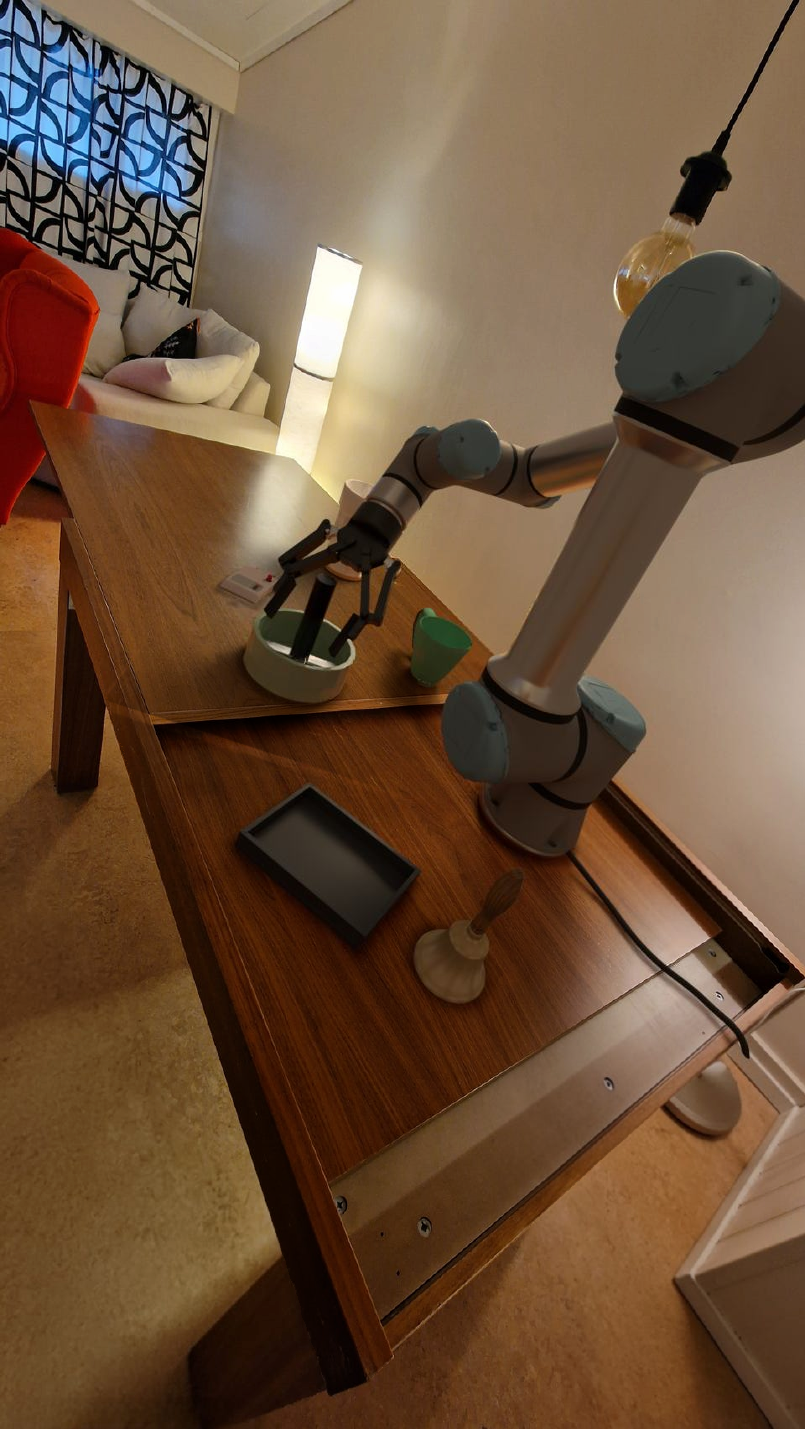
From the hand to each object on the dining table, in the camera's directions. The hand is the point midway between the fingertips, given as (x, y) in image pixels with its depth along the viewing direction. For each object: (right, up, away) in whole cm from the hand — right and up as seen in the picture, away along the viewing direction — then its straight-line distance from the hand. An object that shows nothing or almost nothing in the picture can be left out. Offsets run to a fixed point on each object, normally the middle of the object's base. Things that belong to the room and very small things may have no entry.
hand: (299, 634), depth 89 cm
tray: (+6, -29, -19) cm, 35 cm away
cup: (+2, +19, +44) cm, 48 cm away
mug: (+18, -4, +23) cm, 29 cm away
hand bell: (+20, -38, -23) cm, 49 cm away
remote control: (-12, +11, +23) cm, 28 cm away
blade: (-2, -5, +7) cm, 8 cm away
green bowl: (-2, -5, +7) cm, 9 cm away
